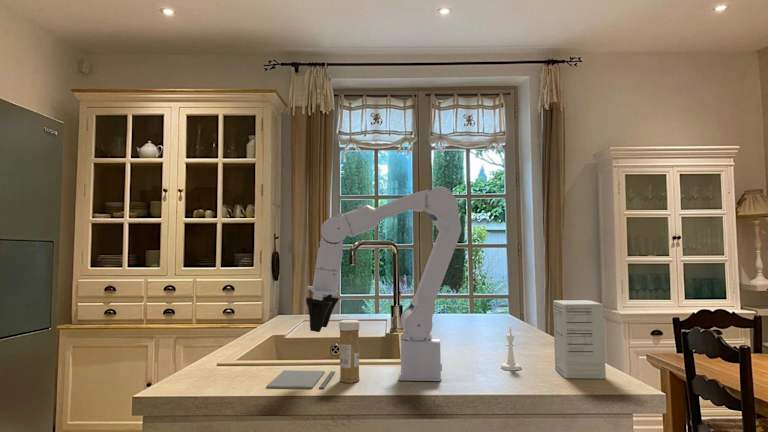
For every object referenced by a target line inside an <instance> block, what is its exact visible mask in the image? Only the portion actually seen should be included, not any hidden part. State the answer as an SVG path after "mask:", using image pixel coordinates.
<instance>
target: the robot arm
mask: <svg viewBox="0 0 768 432" xmlns="http://www.w3.org/2000/svg"><path fill="white" fill-rule="evenodd" d="M408 211H413V212H419V213H420V212H423V211H424V212H425V213H424V214H426V215H427V216H428V217H429V218H430V219H431V220H432V221H433V223H434V225H435V227H436V228H437V231H438V233H437V236H436V239H435V241H434V244H433V246H432V249H431V252H430V255H429V258H428V260H427V262H426V265H425V268H424V270H423V272H422V275H421V278H420V281H419V284H418V286H417V289H416V292H415V294H414V295H413V297H412V298H411V300H410V302H409V305H407V307H406V308H405V309H404V310H403V311H402V313H401V315H400V325H401V327H402V328H403V330H404V331H403V333H402V334H401V335H400V370H399V373H398V381H410V382H411V381H412V382H415V381H416V382H418V381H419V382H420V381H421V382H440V381H442V380H441V377H442V372H443V363H442V362H441V339H440V338H436V337H435V338H433V335H432V334H431V333H432V330H433V316H434V313H435V303H436V299H437V297H438V295H439V292H440V290H441V287H442V285H443V284H442V283H443V281H444V278H445V277H446V274H447V271H448V268H449V265H450V263H451V260H452V257H453V254H454V252H455V250H456V247H457V244H458V242H459V239H460V236H461V234H462V230H463V229H462V225H461V223H462V222H461V219H460V214H459V202H458V200H457V199H456V197H455V195H454V194H453V192H452V190H450V189H449V188H447V187H444V186H437V187H433V188H432V189H431V190H430V189H426V190H421V191H416V192H413V193H410V194H408V195H405V196H402V197H400V198H398V199H395V200H393V201H390V202H387V203H385V204H382V205H380V206H378V207H372V205H371V206H370V205H368V204H366V205H364V206H363V204H360V205H357V206H356V208H355V209H353V210H350V211H347V212H345V213H342V212H340V213H337V216H338V217H337V216H331V217H329V218H328V219H326V220H325V221H323V223H322V225H321V228H320V233H321V236H322V237H320V241H319V247H318V249H317V257H316V262H315V270H314V273H313V274H314V275H313V282H312V286H311V285H307V286H306V289H307V290H309V291H311V292H312V297H306V299H305V302H306V304H307V309H308V315H309V328H310V329H309V330H310V332H316V333H320V332H321V330H322V328H327V326H328V325H329V322H330V319H331V316H332V313H333V311H334V309H335V307H336V305H337V304H338V302H339V300H340V297H337V296H334V295H338V294H339V290H338V286H339V282H340V281H339V280H340V276H341V275H340V274H341V267H342V263H343V262H342V261H343V255H344V254H343V253H344V251H343V246H344V240H345V239H346V237H350V238H353V237H356V236H358V235H361V234H363V233H367V232H369V231H372V230H374V229H376V228H377V226H378V224H379V222H380V221H383V220H384V219H387V218H391V217H393V216H396V215H400V214H402V213H405V212H408Z"/></svg>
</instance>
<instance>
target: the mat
mask: <svg viewBox="0 0 768 432" xmlns="http://www.w3.org/2000/svg"><path fill="white" fill-rule="evenodd" d="M325 372H326V371H325V370H294V369H293V370H290V369H289V370H288V369H287V370H282V371H281V373H279V374H278V375H277V376H276V377H275V378H273V380H271V381H270V382H269V383H268V384H267V385H266V386H265V388H266V389H297V390H298V389H300V390H301V389H304V390H307V389H308V390H309V389H310V390H313V389H314V387H315V386H316V384H317V383H318V382H319V381H320V380H321V378H322V377H323V376H324V374H326V373H325Z"/></svg>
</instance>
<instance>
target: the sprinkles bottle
mask: <svg viewBox="0 0 768 432" xmlns="http://www.w3.org/2000/svg"><path fill="white" fill-rule="evenodd" d="M338 329H339V369H340V371H339V375H340V376H339V381H340V382H342V383H345V384H346V383H347V384H353V382H354V383H357V382H359V380H360V378H361V377H360V344H359V332H360V331H359V330H360V321H359V320H357V319H343V320H340V321H339V322H338Z"/></svg>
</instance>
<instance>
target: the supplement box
mask: <svg viewBox="0 0 768 432" xmlns="http://www.w3.org/2000/svg"><path fill="white" fill-rule="evenodd" d="M552 304H553V306H552V309H553V329H554V330H553V331H554V332H553V335H554V338H553V340H554V341H553V343H554V371H557V372H558V373H559V374H560V375H562V377H564V378H565V379H589V380H590V379H591V380H592V379H593V380H594V379H596V380H597V379H601V380H604V379H607V378H606V377H607V376H606V371H607V370H606V347H605V346H606V345H605V342H606V341H605V315H604V314H605V313H604V311H605V310H604V303H600V302H597V301H593V300H590V299H589V300H588V299H583V300H582V299H581V300H580V299H579V300H577V299H575V300H572V299H571V300H570V299H569V300H568V299H567V300H566V299H565V300H562V299H560V300H555V299H554V300H553V301H552Z"/></svg>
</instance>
